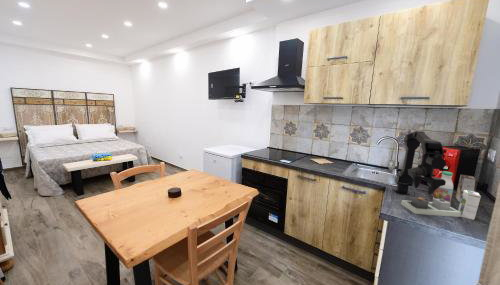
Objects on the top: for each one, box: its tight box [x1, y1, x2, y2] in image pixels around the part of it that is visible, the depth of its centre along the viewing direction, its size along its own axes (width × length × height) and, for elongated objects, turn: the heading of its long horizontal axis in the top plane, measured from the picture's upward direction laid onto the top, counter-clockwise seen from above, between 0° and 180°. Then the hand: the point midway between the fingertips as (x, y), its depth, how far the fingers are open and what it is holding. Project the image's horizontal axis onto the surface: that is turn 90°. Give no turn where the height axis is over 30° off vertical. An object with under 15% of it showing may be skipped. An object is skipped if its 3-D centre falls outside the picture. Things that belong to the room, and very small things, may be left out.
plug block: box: [411, 196, 430, 209], centre depth 113 cm, size 5×5×7 cm
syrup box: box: [457, 190, 482, 221], centre depth 107 cm, size 6×6×14 cm
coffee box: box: [455, 174, 479, 203], centre depth 129 cm, size 9×6×16 cm
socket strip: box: [400, 199, 461, 218], centre depth 113 cm, size 11×23×4 cm, turn 87°
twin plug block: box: [432, 198, 452, 211], centre depth 112 cm, size 5×5×7 cm
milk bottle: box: [432, 170, 454, 203], centre depth 123 cm, size 8×8×20 cm
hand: (422, 191), depth 111 cm, fingers open, 9 cm apart
